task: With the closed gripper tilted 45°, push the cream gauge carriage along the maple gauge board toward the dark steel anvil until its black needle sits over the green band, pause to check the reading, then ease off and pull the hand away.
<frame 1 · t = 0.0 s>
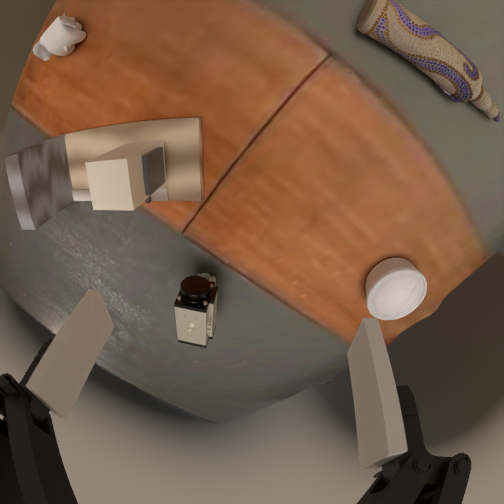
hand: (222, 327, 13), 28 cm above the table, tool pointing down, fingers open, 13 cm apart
decorative bottle: (427, 66, 24), on the table
pneumatic valve: (209, 282, 48), on the table
ramekin: (389, 277, 44), on the table
gauge carriage: (127, 183, 32), point 7 cm above the table, slide at 0.0 cm
gauge board: (118, 161, 37), on the table
elephant figurine: (73, 35, 25), on the table
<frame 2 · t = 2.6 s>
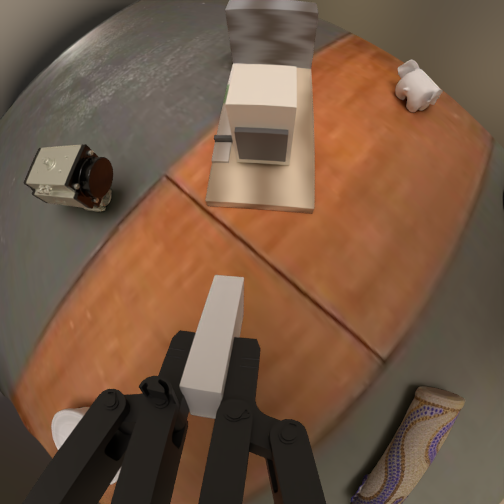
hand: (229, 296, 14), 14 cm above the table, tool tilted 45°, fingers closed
decorative bottle: (381, 463, 23), on the table
pneumatic valve: (98, 203, 32), on the table
ramekin: (103, 436, 26), on the table
gauge carriage: (250, 112, 26), point 7 cm above the table, slide at 0.0 cm
gauge board: (268, 115, 34), on the table
elephant figurine: (412, 101, 34), on the table
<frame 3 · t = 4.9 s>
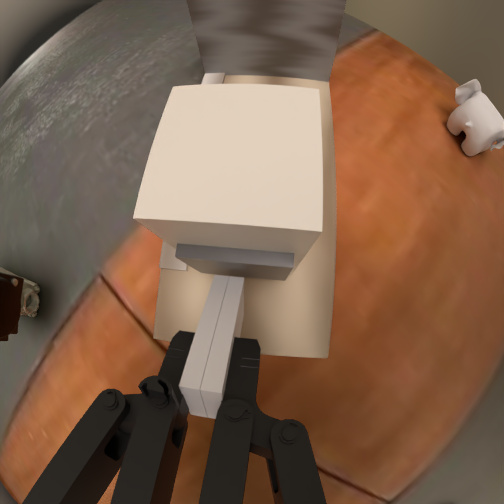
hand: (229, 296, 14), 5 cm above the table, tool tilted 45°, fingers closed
pneumatic valve: (30, 301, 20), on the table
gauge carriage: (216, 188, 14), point 7 cm above the table, slide at 0.4 cm, touching gripper
gauge board: (258, 168, 21), on the table
elephant figurine: (466, 137, 22), on the table
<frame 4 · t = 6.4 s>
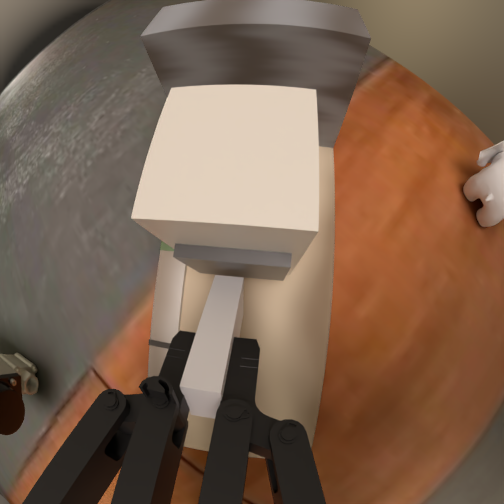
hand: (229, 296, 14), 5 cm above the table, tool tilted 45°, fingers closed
pneumatic valve: (29, 375, 19), on the table
gauge carriage: (214, 188, 14), point 7 cm above the table, slide at 8.6 cm, touching gripper
gauge board: (246, 269, 20), on the table
elephant figurine: (482, 200, 20), on the table
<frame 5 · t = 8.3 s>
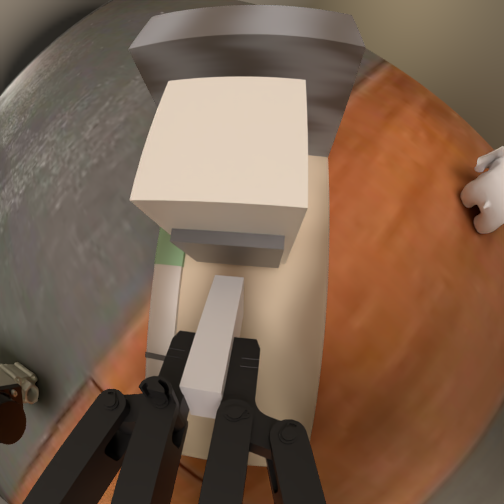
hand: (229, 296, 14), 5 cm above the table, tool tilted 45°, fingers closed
pneumatic valve: (29, 384, 18), on the table
gauge carriage: (210, 177, 14), point 7 cm above the table, slide at 10.3 cm
gauge board: (241, 281, 20), on the table
elephant figurine: (480, 206, 20), on the table
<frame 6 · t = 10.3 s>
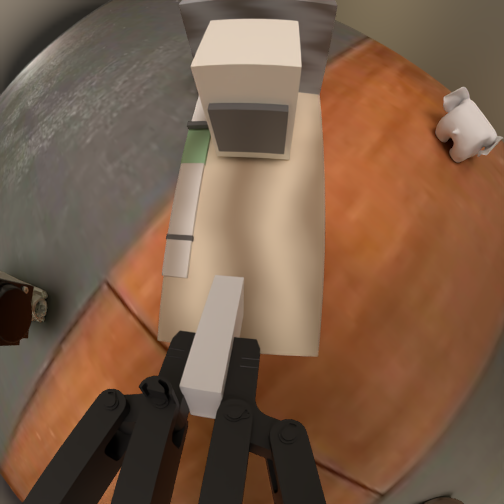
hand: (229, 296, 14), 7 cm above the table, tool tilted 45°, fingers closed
pneumatic valve: (37, 306, 22), on the table
gauge carriage: (233, 86, 17), point 7 cm above the table, slide at 10.3 cm
gauge board: (252, 180, 23), on the table
elephant figurine: (455, 143, 24), on the table
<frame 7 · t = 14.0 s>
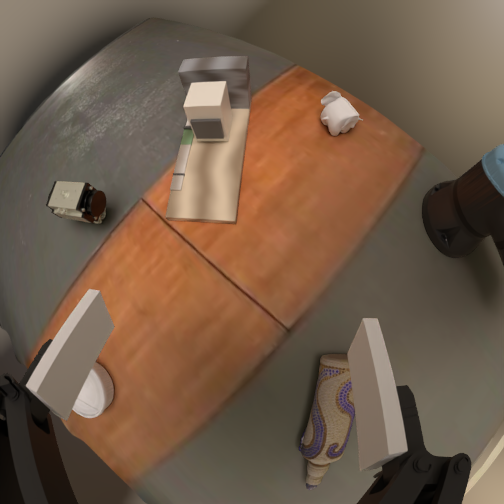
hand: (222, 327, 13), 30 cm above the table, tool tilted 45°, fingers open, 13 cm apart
decorative bottle: (320, 418, 37), on the table
pneumatic valve: (97, 217, 47), on the table
ramekin: (95, 383, 40), on the table
gauge carriage: (202, 110, 43), point 7 cm above the table, slide at 10.3 cm
gauge board: (212, 151, 48), on the table
elephant figurine: (337, 125, 49), on the table
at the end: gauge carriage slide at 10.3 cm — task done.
